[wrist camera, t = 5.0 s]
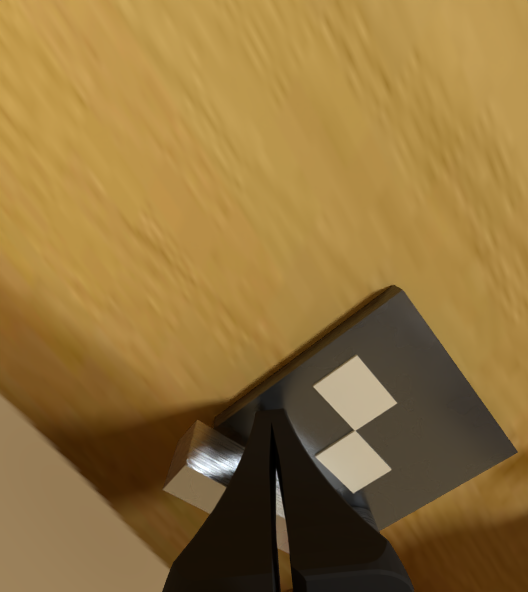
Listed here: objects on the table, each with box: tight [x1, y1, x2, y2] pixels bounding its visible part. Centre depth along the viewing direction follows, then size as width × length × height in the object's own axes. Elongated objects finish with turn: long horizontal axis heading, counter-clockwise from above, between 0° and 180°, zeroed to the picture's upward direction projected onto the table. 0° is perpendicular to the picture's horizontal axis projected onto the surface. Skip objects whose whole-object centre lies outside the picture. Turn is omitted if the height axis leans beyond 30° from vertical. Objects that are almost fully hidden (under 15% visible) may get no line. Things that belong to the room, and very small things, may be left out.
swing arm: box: [163, 420, 380, 553], centre depth 13 cm, size 12×2×3 cm, turn 51°
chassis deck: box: [213, 285, 518, 531], centre depth 15 cm, size 12×11×1 cm
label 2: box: [315, 430, 391, 493], centre depth 15 cm, size 4×2×1 cm
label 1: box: [313, 355, 397, 431], centre depth 13 cm, size 4×2×1 cm
